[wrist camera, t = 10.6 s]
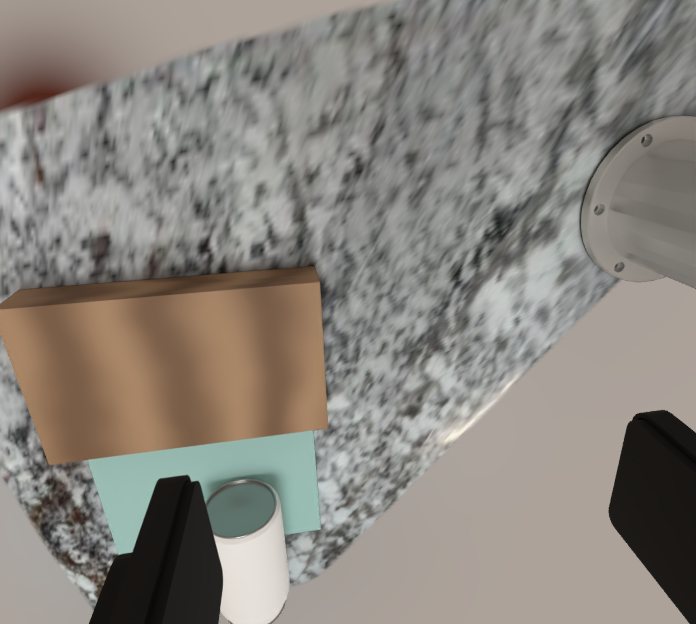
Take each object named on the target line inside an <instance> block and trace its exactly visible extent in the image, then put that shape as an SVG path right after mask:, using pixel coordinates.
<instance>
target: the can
mask: <svg viewBox="0 0 696 624" xmlns="http://www.w3.org/2000/svg"><path fill="white" fill-rule="evenodd" d="M205 504H206V508H207V511H208V515H209V519H210V523H211V527H212V531H213V535H214V539H215V543H216V547H217V550H218V554H219V558H220V562H221V566H222V571H223V591H222V599H221V607H220V611H221V612H222V614H223V615H224V616H225V617H226V618H227V619H228V621H229V622H230V623H231V624H271V623H273V622H274V621H275V620H276V619H277V618H278V617H279V615H280V614H281V612H282V610H283V608H284V606H285V602H286V598H287V595H288V592H289V571H288V562H287V553H286V544H285V536H284V527H283V519H282V511H281V504H280V499H279V496H278V494H277V492H276V491H275V490H274V488H273V487H271V486H270V485H269V484H267V483H265V482H262V481H260V480H256V479H249V478H245V479H237V480H234V481H230V482H228V483H226V484H224V485H222V486H220V487H219V488H217V489H216V490H215V491H214V492H213V493H212V494H211V495H210V496H209V497H208V498H207V500H206V501H205Z"/></svg>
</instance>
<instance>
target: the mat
mask: <svg viewBox="0 0 696 624" xmlns="http://www.w3.org/2000/svg"><path fill="white" fill-rule="evenodd" d="M88 462H89V466H90V469H91V472H92V475H93V478H94V481H95V484H96V487H97V490H98V493H99V496H100V499H101V502H102V505H103V508H104V511H105V514H106V518H107V521H108V524H109V527H110V530H111V533H112V536H113V539H114V542H115V545H116V548H117V551H118V554H119V555H120V554H124V553H131V552H133V549H134V546H135V543H136V540H137V537H138V534H139V531H140V528H141V525H142V523H143V520H144V517H145V514H146V511H147V508H148V505H149V502H150V499H151V496H152V493H153V491H154V488H155V485H156V483H157V480H159V479H160V478H167V477H174V476H181V475H189V477H190V479H191V482H192V481H199V482H200V485H201V488H202V492H203V496H204V500H205V501H206V500H207V498H208V497H209V496H210V495H211V494H212V493H213V492H214V491H215V490H216V489H217V488H219V487H220V486H222V485H224V484H226V483H228V482H230V481H234V480H237V479H245V478H249V479H256V480H260V481H262V482H265V483H267V484H269V485H270V486H271V487H273V488H274V490H275V491H276V492H277V494H278V496H279V499H280V504H281V511H282V519H283V527H284V535H288V534H294V533H300V532H306V531H313V530H319V529H321V528H320V515H319V501H318V488H317V474H316V461H315V448H314V434H313V430H312V431H305V432H297V433H289V434H282V435H274V436H266V437H259V438H251V439H243V440H236V441H228V442H220V443H213V444H205V445H197V446H190V447H182V448H174V449H167V450H159V451H151V452H144V453H136V454H128V455H121V456H113V457H106V458H98V459H90V460H88Z"/></svg>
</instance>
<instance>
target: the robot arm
mask: <svg viewBox="0 0 696 624" xmlns="http://www.w3.org/2000/svg"><path fill="white" fill-rule="evenodd" d="M581 231H582V237H583V242H584V245H585V247H586V250H587V253H588V254H589V256H590V257H591V259H592V260H593V262H594V263H595V264H596V265H597V266H598V267H600V268H601V269H602V270H603V271H605V272H607V273H609V274H610V275H612V276H614V277H617V278H620V279H622V280H625V281H632V282H646V281H653V280H657V279H660V278H664V277H669V278H671V279H673V280H676V281H678V282H681V283H683V284H685V285H688V286H690V287H693V288H695V289H696V117H693V116H669V117H665V118H661V119H657V120H654V121H651V122H649V123H647V124H645V125H643V126H641V127H639V128H637V129H636V130H634V131H633V132H632V133H630V134H629V135H627V136H626V137H624V138H623V139H622V140H621V141H620V142H619V143H618V144H617V145H616V146H615V147H614V148H613V149H612V150H611V151H610V152H609V154H608V155H607V156H606V158H605V159H604V160H603V161H602V163H601V164H600V165H599V167H598V169H597V171H596V173H595V174H594V176H593V178H592V180H591V182H590V185H589V187H588V190H587V192H586V195H585V199H584V203H583V208H582V214H581ZM609 517H610V520H611V522H612V524H613V526H614V527H615V529H616V530H617V531H618V533H619V534H620V535H621V537H622V538H623V539H624V540H625V542H626V543H627V544H628V545H629V547H630V548H631V549H632V551H633V552H634V553H635V554H636V556H637V557H638V558H639V560H640V561H641V562H642V563H643V565H644V566H645V567H646V568H647V570H648V571H649V572H650V573H651V575H652V576H653V577H654V579H655V580H656V581H657V582H658V584H659V585H660V586H661V588H662V589H663V590H664V592H665V593H666V594H667V595H668V597H669V598H670V599H671V600H672V602H673V603H674V604H675V606H676V607H677V608H678V609H679V611H680V612H681V613H682V614H683V616H684V617H685V618H686V619H687V621H688V622H689V623H690V624H696V433H695V432H694V431H693V430H692V429H690V428H689V427H688V426H687V425H685V424H684V423H683V422H682V421H680V420H679V419H678V418H677V417H675V416H674V415H673V414H671V413H670V412H668V411H665V410H659V411H651V412H644V413H639V414H636V415H635V416H634V417H633V420H632V421H630V422H629V423H628V425H627V428H626V433H625V437H624V442H623V447H622V451H621V455H620V460H619V465H618V469H617V474H616V478H615V483H614V487H613V492H612V496H611V502H610V505H609ZM222 591H223V571H222V566H221V562H220V558H219V554H218V550H217V547H216V543H215V539H214V535H213V531H212V527H211V523H210V519H209V515H208V511H207V508H206V504H205V500H204V496H203V492H202V488H201V485H200V482H199V481H192V482H191V479H190V477H189V475H181V476H174V477H167V478H160V479H159V480H157V483H156V485H155V488H154V491H153V493H152V496H151V499H150V502H149V505H148V508H147V511H146V514H145V517H144V520H143V523H142V525H141V528H140V531H139V534H138V537H137V540H136V543H135V546H134V549H133V552H131V553H124V554H120V555H118V556H117V557H116V558H115V559H114V561H113V563H112V565H111V567H110V570H109V572H108V575H107V578H106V580H105V583H104V585H103V588H102V591H101V593H100V596H99V599H98V601H97V604H96V606H95V609H94V612H93V614H92V617H91V620H90V622H89V624H218V621H219V614H220V607H221V599H222Z"/></svg>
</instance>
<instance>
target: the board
mask: <svg viewBox="0 0 696 624" xmlns="http://www.w3.org/2000/svg"><path fill="white" fill-rule="evenodd" d="M0 334H1V337H2V339H3V342H4V345H5V347H6V350H7V353H8V356H9V358H10V361H11V364H12V366H13V369H14V372H15V374H16V377H17V380H18V382H19V385H20V388H21V390H22V393H23V396H24V399H25V401H26V404H27V407H28V409H29V412H30V415H31V417H32V420H33V423H34V425H35V428H36V431H37V434H38V436H39V439H40V442H41V444H42V447H43V450H44V452H45V455H46V458H47V460H48V463H49V465H52V464H60V463H67V462H75V461H83V460H90V459H98V458H106V457H113V456H121V455H128V454H136V453H144V452H151V451H159V450H167V449H174V448H182V447H190V446H197V445H205V444H213V443H220V442H228V441H236V440H243V439H251V438H259V437H266V436H274V435H282V434H289V433H297V432H305V431H312V430H320V429H328V416H327V398H326V381H325V364H324V347H323V329H322V312H321V295H320V281H319V278H318V275H317V272H316V269H315V266H309V267H297V268H284V269H272V270H259V271H247V272H235V273H222V274H210V275H198V276H185V277H173V278H161V279H148V280H136V281H123V282H111V283H99V284H86V285H74V286H62V287H49V288H37V289H25V290H18V291H17V292H16V293H14V294H13V295H12V296H10V297H9V298H8V299H6V300H5V301H4V302H2V303H1V304H0Z"/></svg>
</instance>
